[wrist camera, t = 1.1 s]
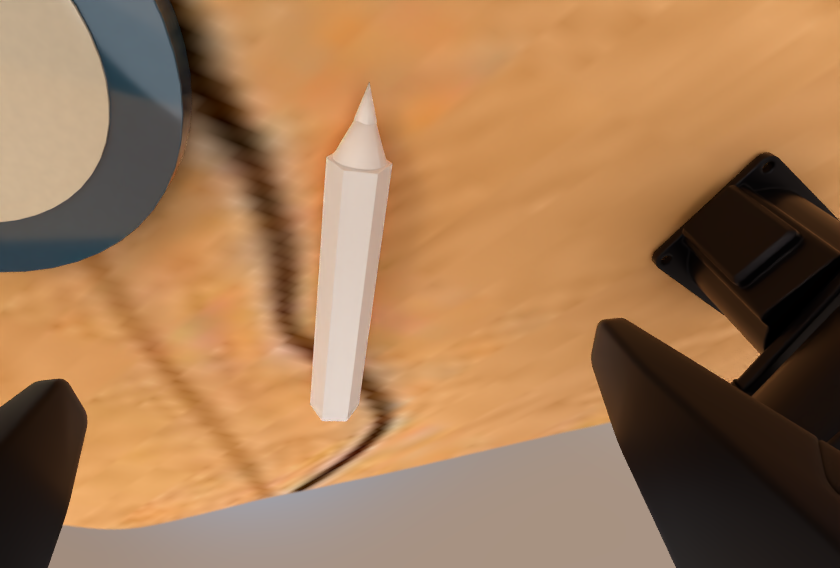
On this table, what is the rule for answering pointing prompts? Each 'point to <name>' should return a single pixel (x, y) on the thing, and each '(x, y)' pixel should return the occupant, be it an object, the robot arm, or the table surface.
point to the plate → (86, 124)
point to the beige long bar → (348, 263)
